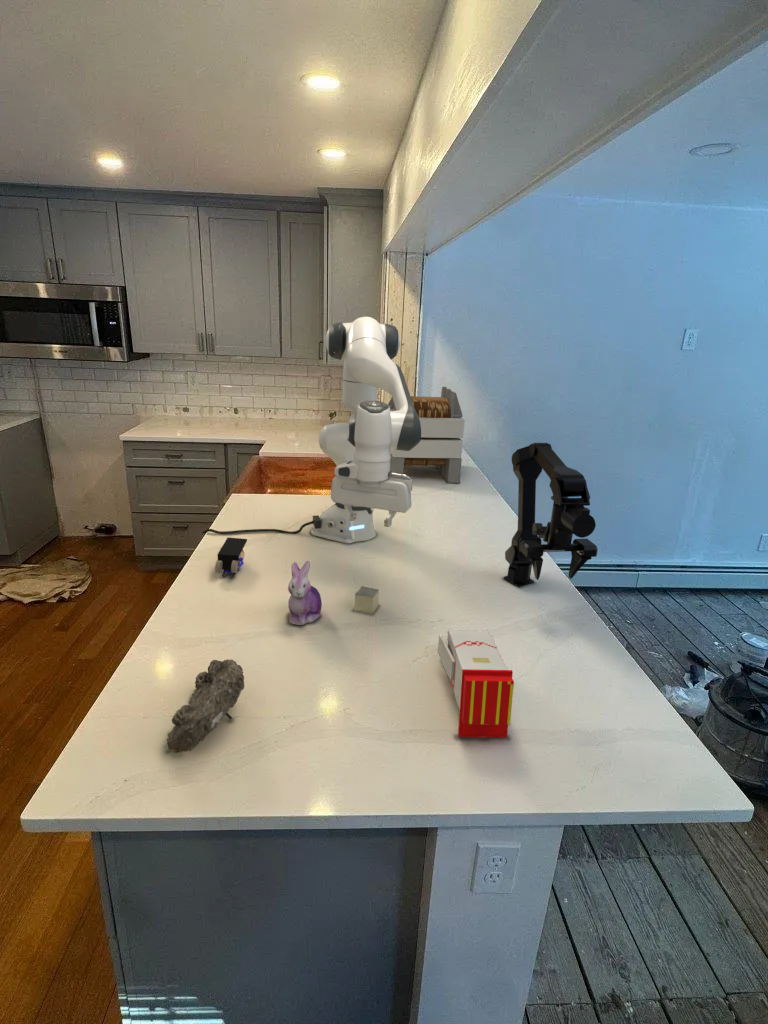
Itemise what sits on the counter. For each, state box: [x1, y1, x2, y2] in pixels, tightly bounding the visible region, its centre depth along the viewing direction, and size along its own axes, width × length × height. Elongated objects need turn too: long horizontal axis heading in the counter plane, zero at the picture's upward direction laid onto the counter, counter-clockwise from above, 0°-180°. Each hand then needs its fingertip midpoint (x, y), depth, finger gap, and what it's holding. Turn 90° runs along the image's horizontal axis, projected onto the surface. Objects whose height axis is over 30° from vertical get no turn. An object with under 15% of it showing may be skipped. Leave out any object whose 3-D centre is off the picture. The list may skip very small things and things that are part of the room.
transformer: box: [387, 386, 465, 484], centre depth 268 cm, size 34×33×41 cm
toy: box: [437, 628, 515, 738], centre depth 117 cm, size 12×13×30 cm
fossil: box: [166, 658, 245, 754], centre depth 106 cm, size 22×10×15 cm
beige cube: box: [353, 585, 380, 615], centre depth 149 cm, size 5×5×5 cm
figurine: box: [287, 560, 323, 626], centre depth 141 cm, size 9×10×15 cm
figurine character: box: [214, 537, 248, 578], centre depth 166 cm, size 7×8×15 cm
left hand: (369, 523), depth 142 cm, fingers open, 8 cm apart
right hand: (553, 578), depth 146 cm, fingers open, 9 cm apart
